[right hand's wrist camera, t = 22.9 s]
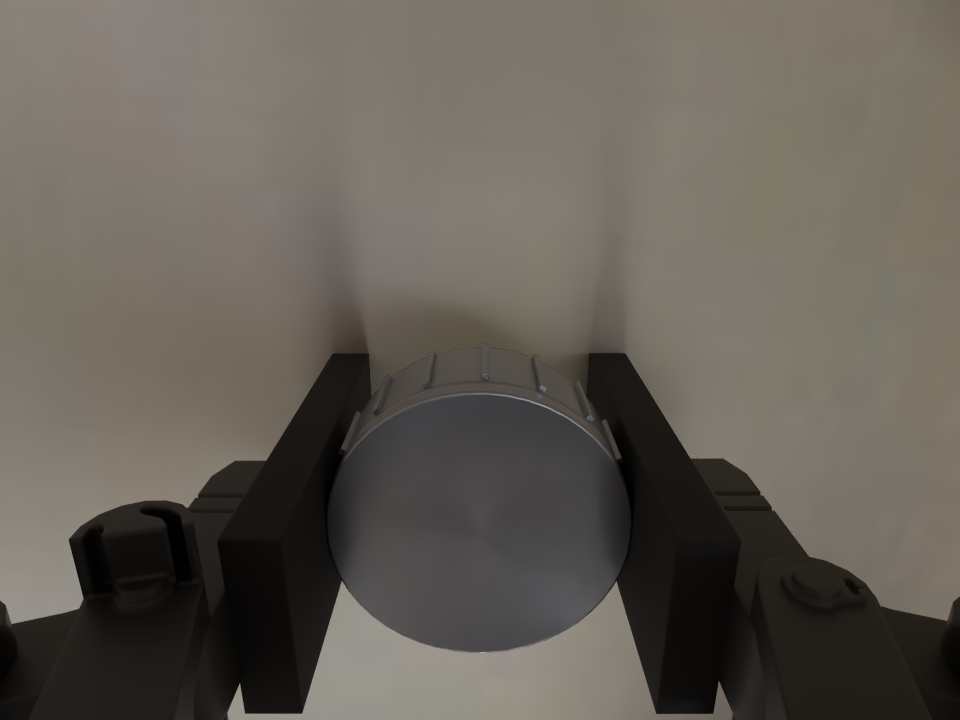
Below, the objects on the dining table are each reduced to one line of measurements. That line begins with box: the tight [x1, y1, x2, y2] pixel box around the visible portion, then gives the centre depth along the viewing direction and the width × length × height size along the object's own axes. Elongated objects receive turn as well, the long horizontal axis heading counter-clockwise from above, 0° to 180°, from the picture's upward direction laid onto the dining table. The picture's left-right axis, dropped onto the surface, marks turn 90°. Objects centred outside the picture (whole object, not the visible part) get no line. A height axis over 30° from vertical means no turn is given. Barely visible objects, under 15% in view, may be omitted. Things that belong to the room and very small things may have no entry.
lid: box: [326, 344, 633, 653], centre depth 11 cm, size 5×5×2 cm
